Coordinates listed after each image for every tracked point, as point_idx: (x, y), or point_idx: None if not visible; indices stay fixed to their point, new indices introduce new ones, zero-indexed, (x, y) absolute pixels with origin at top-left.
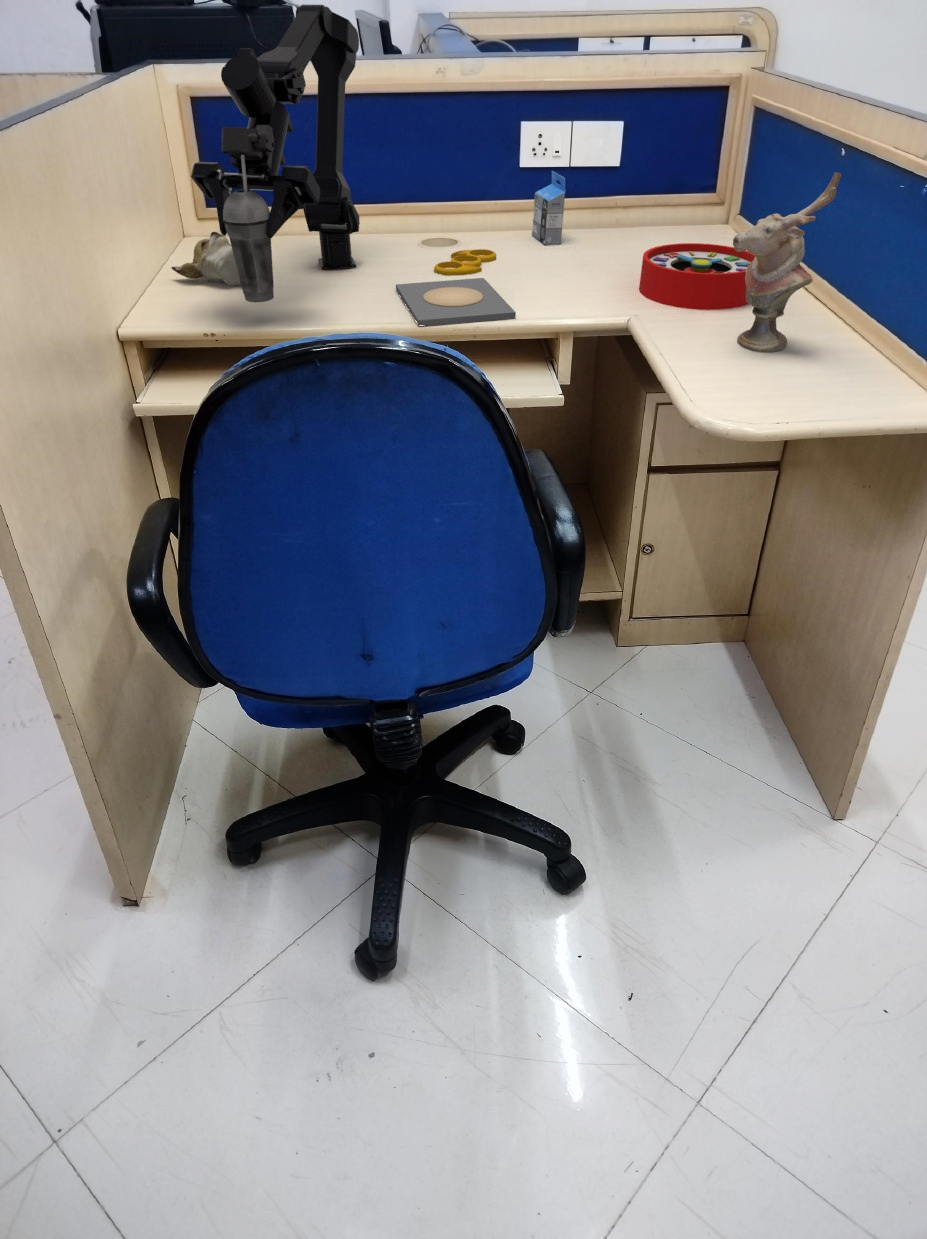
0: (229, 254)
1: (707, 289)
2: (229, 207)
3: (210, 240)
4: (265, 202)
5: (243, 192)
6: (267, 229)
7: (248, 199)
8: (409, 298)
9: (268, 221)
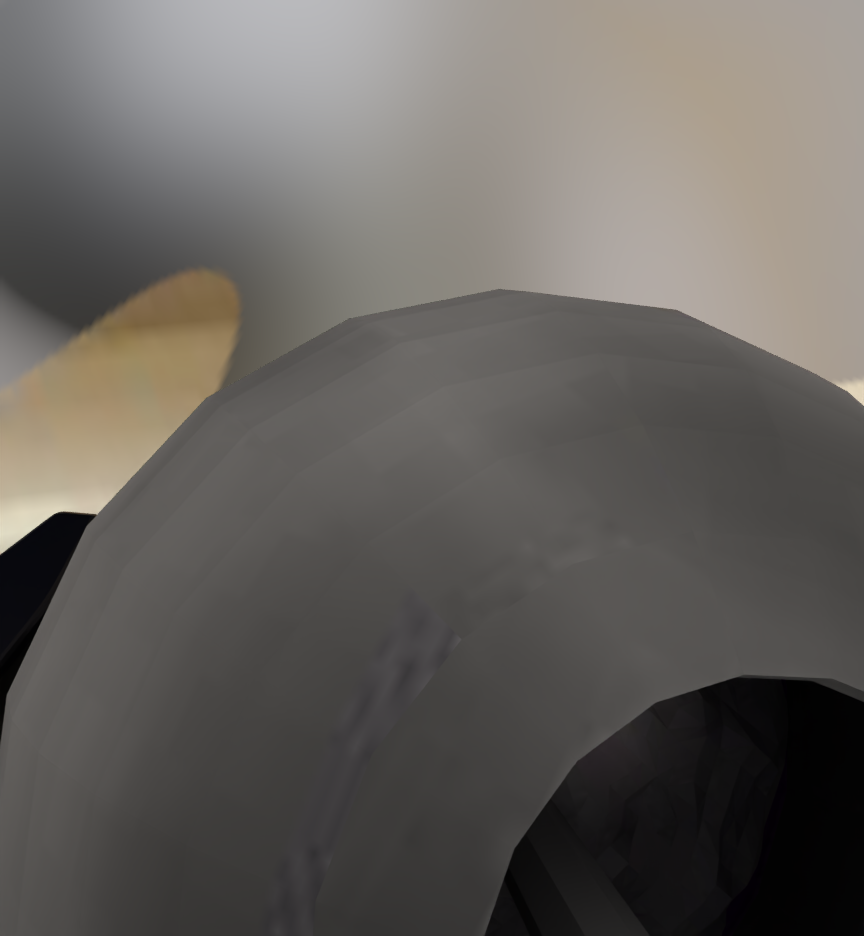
0: None
1: None
2: (797, 367)
3: None
4: None
5: (651, 698)
6: (69, 552)
7: (357, 478)
8: None
9: (18, 637)
